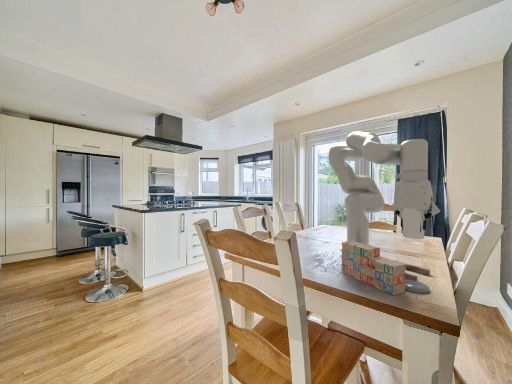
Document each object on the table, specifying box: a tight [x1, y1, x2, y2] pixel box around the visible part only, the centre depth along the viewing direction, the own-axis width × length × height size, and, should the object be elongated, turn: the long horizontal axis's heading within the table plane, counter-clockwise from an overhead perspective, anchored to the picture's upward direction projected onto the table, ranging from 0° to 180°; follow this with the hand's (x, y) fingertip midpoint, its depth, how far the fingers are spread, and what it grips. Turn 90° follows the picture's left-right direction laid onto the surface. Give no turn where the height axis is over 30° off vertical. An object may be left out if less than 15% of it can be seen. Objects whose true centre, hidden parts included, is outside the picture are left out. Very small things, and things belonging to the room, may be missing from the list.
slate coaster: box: [405, 279, 430, 295], centre depth 72 cm, size 9×9×1 cm
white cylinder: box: [402, 208, 426, 240], centre depth 72 cm, size 7×7×10 cm
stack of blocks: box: [341, 241, 406, 296], centre depth 78 cm, size 21×6×12 cm, turn 22°
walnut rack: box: [396, 260, 431, 282], centre depth 85 cm, size 12×13×2 cm
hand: (413, 230), depth 72 cm, fingers closed on white cylinder, 4 cm apart
